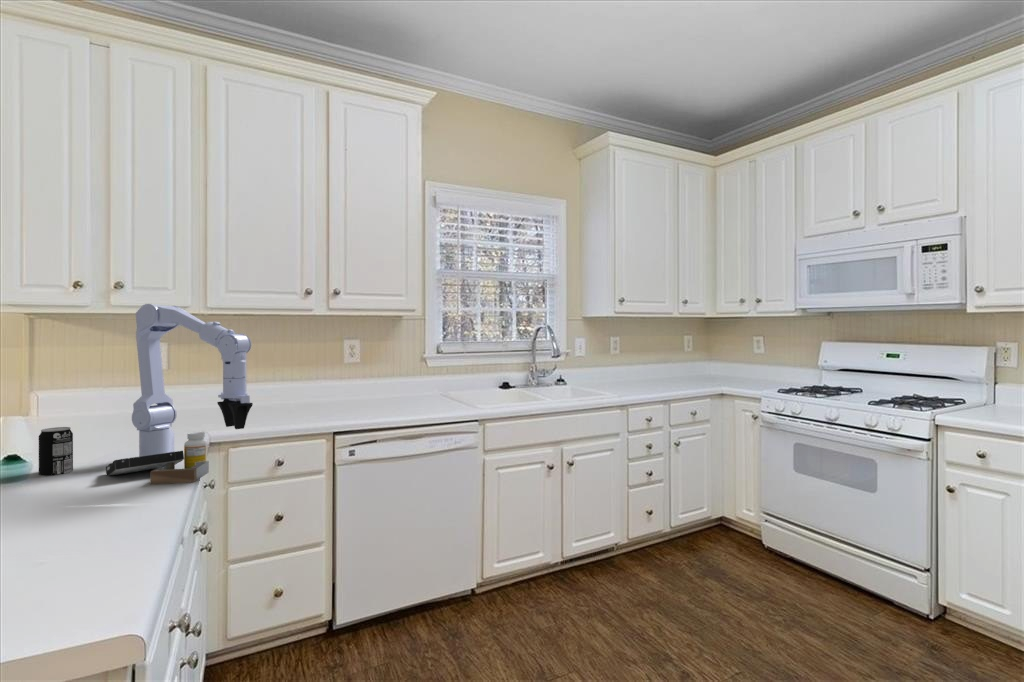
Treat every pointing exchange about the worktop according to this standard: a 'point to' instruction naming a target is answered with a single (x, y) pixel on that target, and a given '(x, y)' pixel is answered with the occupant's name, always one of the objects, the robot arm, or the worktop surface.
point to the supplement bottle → (195, 449)
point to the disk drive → (143, 463)
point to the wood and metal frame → (178, 473)
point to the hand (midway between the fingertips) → (234, 427)
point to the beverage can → (55, 451)
